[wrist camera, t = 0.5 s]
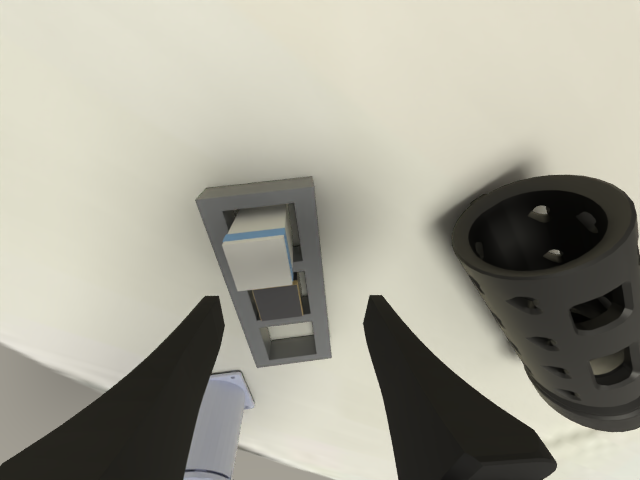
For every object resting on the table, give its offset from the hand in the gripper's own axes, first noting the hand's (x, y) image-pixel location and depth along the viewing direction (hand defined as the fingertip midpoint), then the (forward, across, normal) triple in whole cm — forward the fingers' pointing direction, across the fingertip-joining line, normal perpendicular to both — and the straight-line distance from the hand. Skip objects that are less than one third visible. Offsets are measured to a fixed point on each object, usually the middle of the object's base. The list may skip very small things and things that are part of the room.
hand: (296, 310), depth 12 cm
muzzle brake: (+10, -24, +8) cm, 27 cm away
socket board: (+10, +2, +6) cm, 12 cm away
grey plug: (+10, +2, 0) cm, 10 cm away
